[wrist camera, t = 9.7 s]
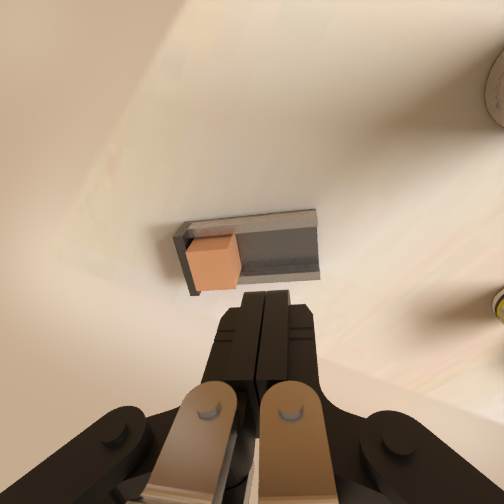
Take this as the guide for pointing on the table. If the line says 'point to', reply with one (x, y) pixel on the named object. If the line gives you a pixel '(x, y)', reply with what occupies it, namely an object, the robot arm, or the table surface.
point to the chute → (261, 246)
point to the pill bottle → (499, 305)
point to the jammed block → (214, 262)
